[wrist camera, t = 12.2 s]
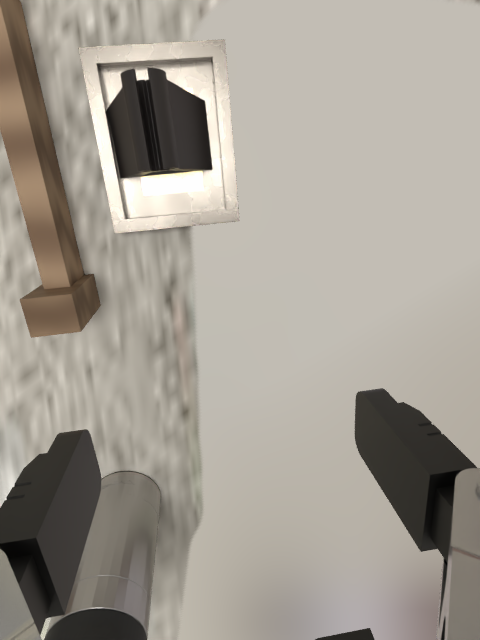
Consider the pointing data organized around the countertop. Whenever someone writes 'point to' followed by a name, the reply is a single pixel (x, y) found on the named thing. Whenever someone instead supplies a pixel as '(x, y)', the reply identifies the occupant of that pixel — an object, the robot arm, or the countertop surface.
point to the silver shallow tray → (179, 188)
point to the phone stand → (158, 127)
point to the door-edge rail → (40, 188)
